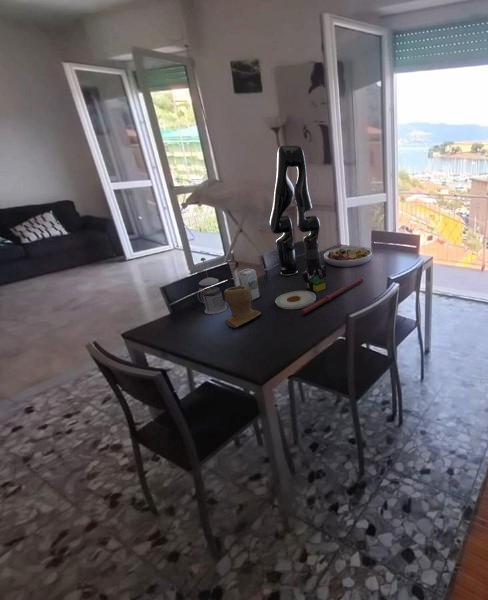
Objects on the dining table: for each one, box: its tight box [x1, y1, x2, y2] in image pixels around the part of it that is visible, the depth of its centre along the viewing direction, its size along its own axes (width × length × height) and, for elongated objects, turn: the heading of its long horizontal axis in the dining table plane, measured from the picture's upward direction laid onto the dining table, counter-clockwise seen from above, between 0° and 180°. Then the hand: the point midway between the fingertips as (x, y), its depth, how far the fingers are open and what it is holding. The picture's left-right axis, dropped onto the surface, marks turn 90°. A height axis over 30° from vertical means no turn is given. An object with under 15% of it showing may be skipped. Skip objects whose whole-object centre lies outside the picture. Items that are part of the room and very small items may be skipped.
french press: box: [197, 257, 228, 315], centre depth 159 cm, size 10×12×25 cm
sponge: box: [306, 276, 327, 293], centre depth 185 cm, size 8×6×4 cm
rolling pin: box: [300, 277, 364, 316], centre depth 174 cm, size 45×3×3 cm, turn 151°
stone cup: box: [223, 285, 262, 329], centre depth 151 cm, size 15×12×15 cm
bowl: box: [323, 246, 373, 268], centre depth 225 cm, size 30×30×8 cm
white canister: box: [237, 268, 261, 302], centre depth 172 cm, size 6×6×14 cm
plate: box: [274, 290, 317, 310], centre depth 172 cm, size 19×19×1 cm
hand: (316, 287), depth 185 cm, fingers closed on sponge, 5 cm apart
